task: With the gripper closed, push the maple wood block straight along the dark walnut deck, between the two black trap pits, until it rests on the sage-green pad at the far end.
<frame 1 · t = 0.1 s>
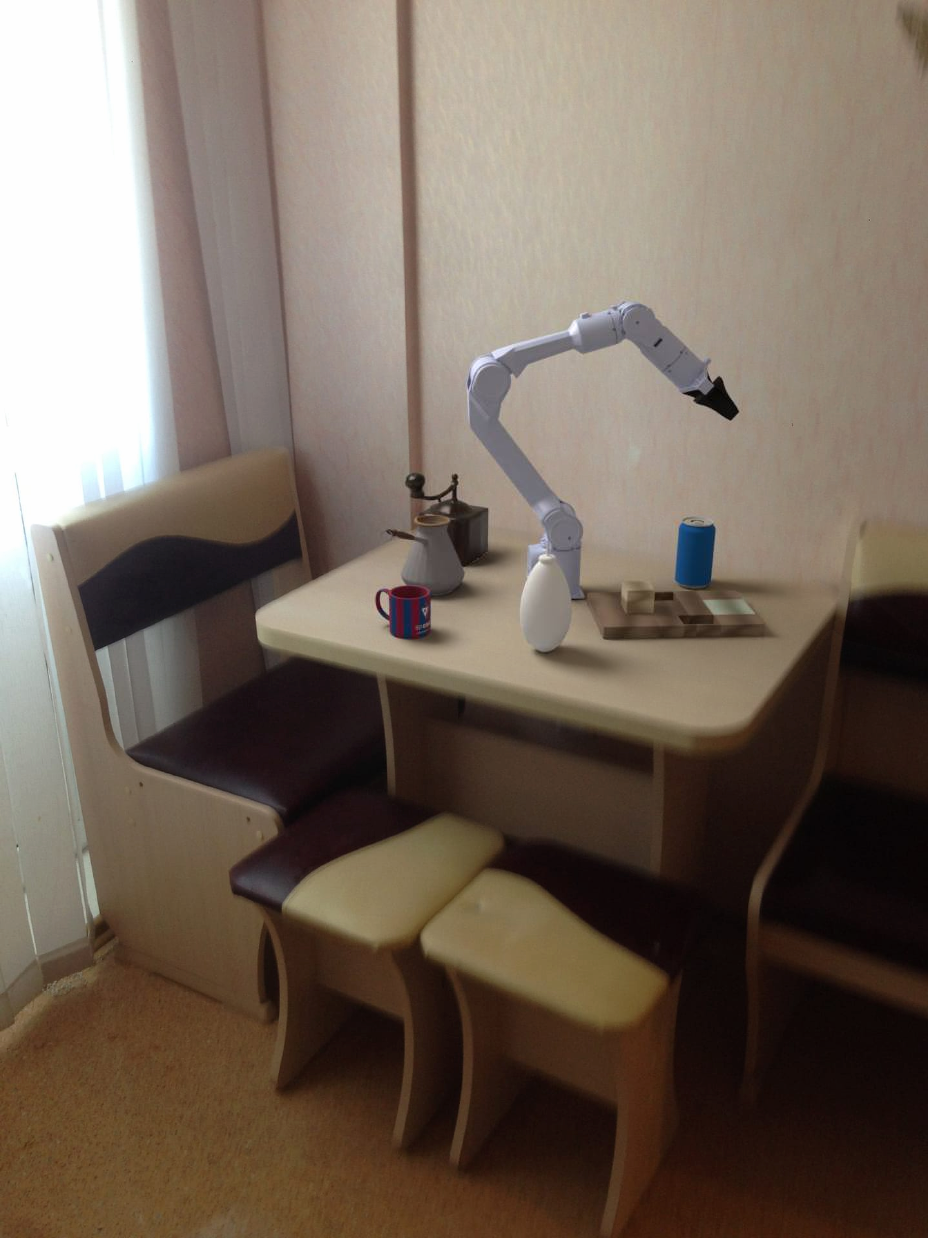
hand: (728, 411, 182), 32 cm above the table, tool tilted 50°, fingers open, 7 cm apart
block: (636, 608, 179), point 2 cm above the table, touching deck
beverage can: (692, 585, 197), on the table
mug: (402, 630, 176), on the table
coffee pot: (419, 597, 190), on the table
coffee grinder: (446, 560, 210), on the table
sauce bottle: (544, 651, 168), on the table
deck: (671, 619, 180), on the table
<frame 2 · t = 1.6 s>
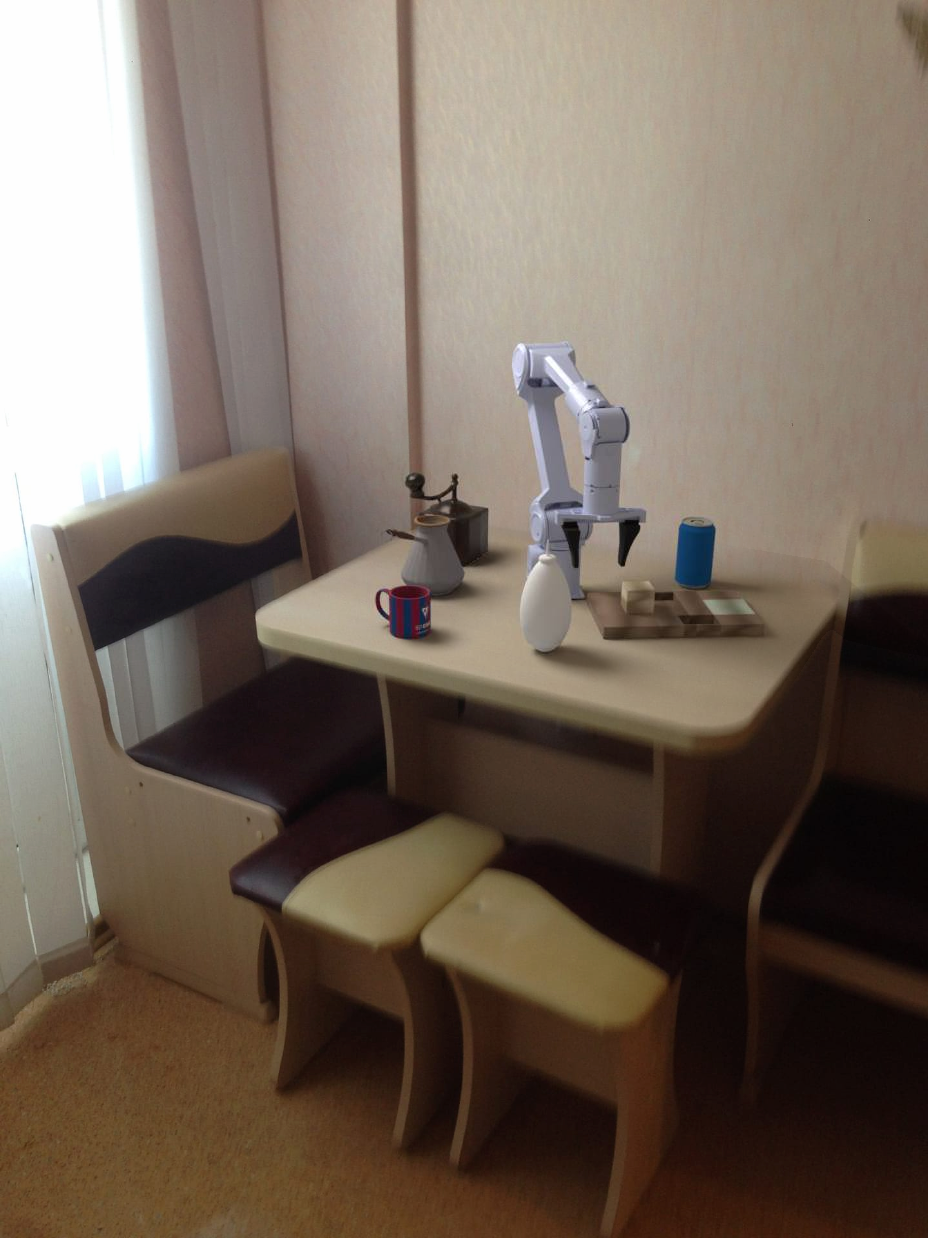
hand: (598, 565, 176), 10 cm above the table, tool pointing down, fingers open, 7 cm apart
nothing on the table moved.
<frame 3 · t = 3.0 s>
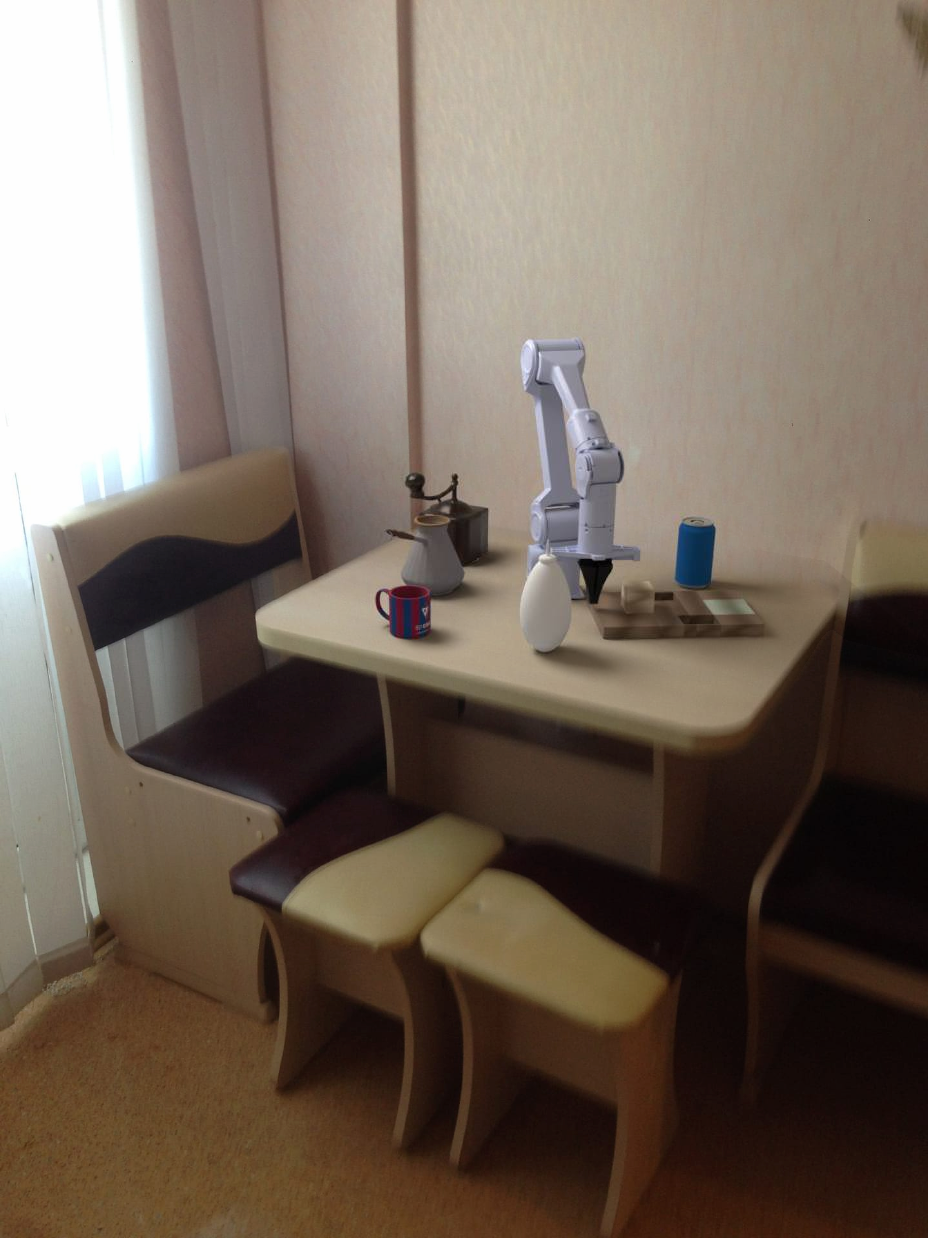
hand: (592, 602, 178), 3 cm above the table, tool pointing down, fingers closed
nothing on the table moved.
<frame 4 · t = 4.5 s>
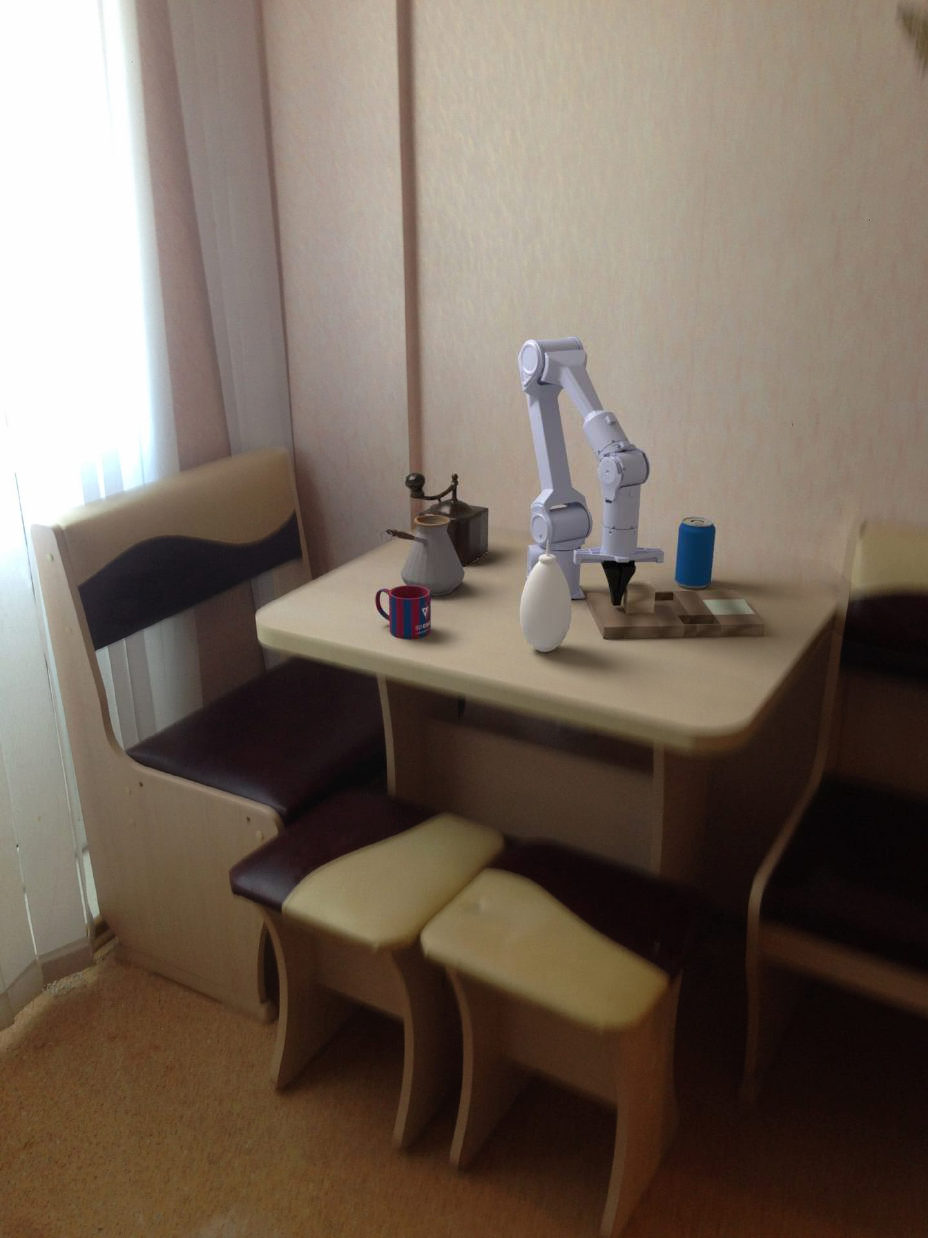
hand: (615, 603, 179), 3 cm above the table, tool pointing down, fingers closed
block: (637, 608, 179), point 2 cm above the table, touching deck, gripper
everything else where it was.
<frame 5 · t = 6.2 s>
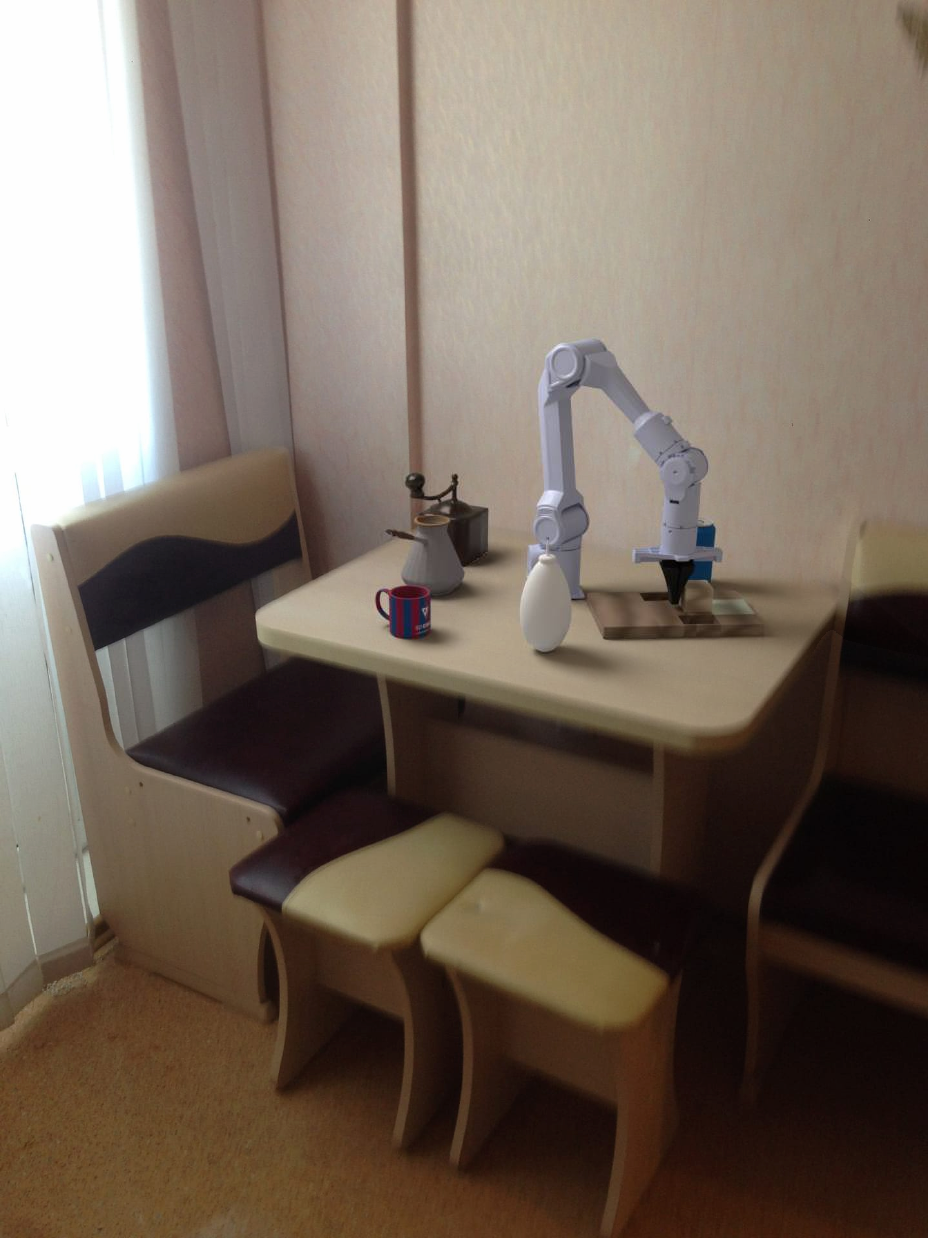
hand: (673, 602, 179), 3 cm above the table, tool pointing down, fingers closed
block: (694, 607, 180), point 2 cm above the table, touching gripper
everything else where it was.
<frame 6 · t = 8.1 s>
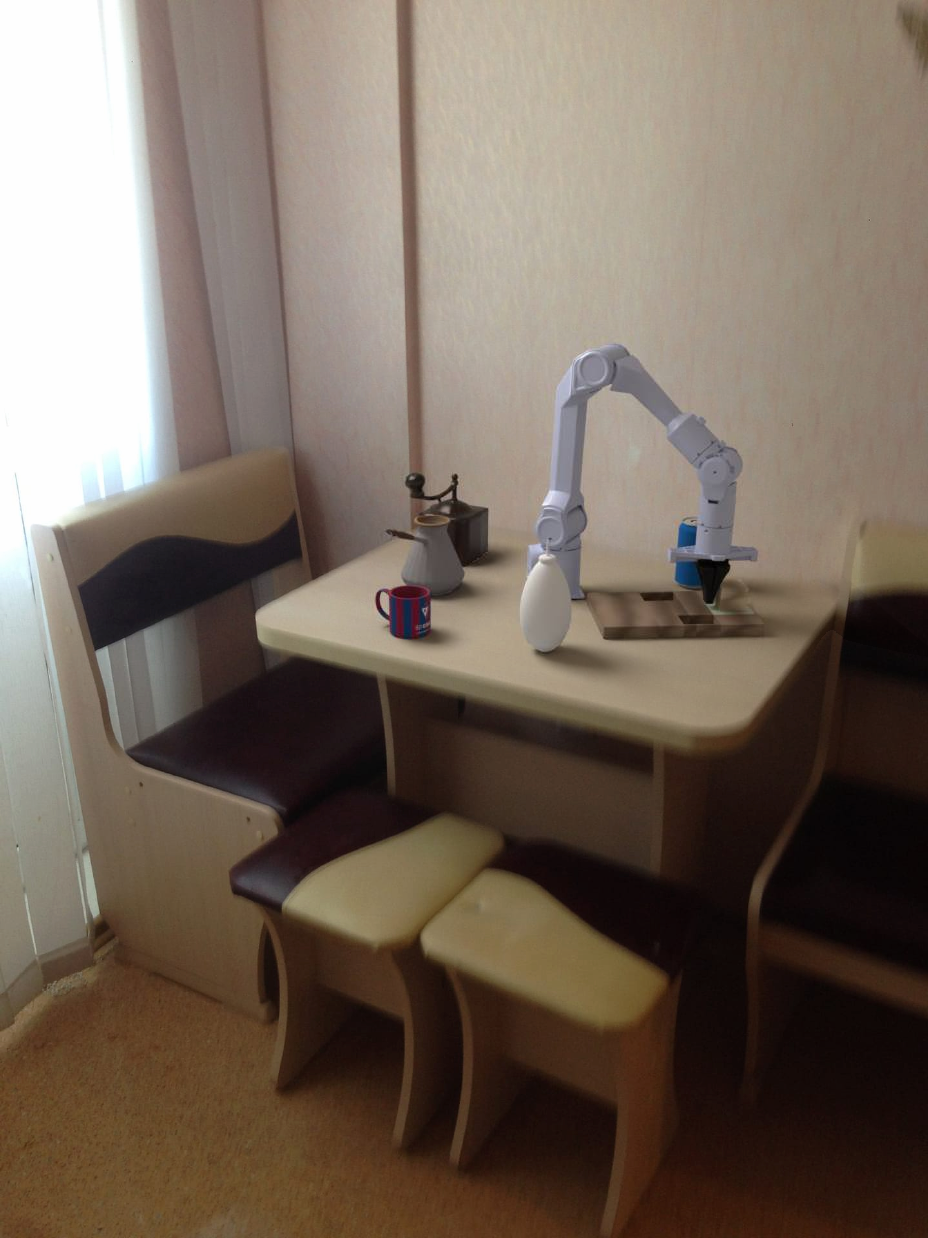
hand: (708, 602, 180), 3 cm above the table, tool pointing down, fingers closed
block: (729, 606, 180), point 2 cm above the table, touching deck, gripper
everything else where it was.
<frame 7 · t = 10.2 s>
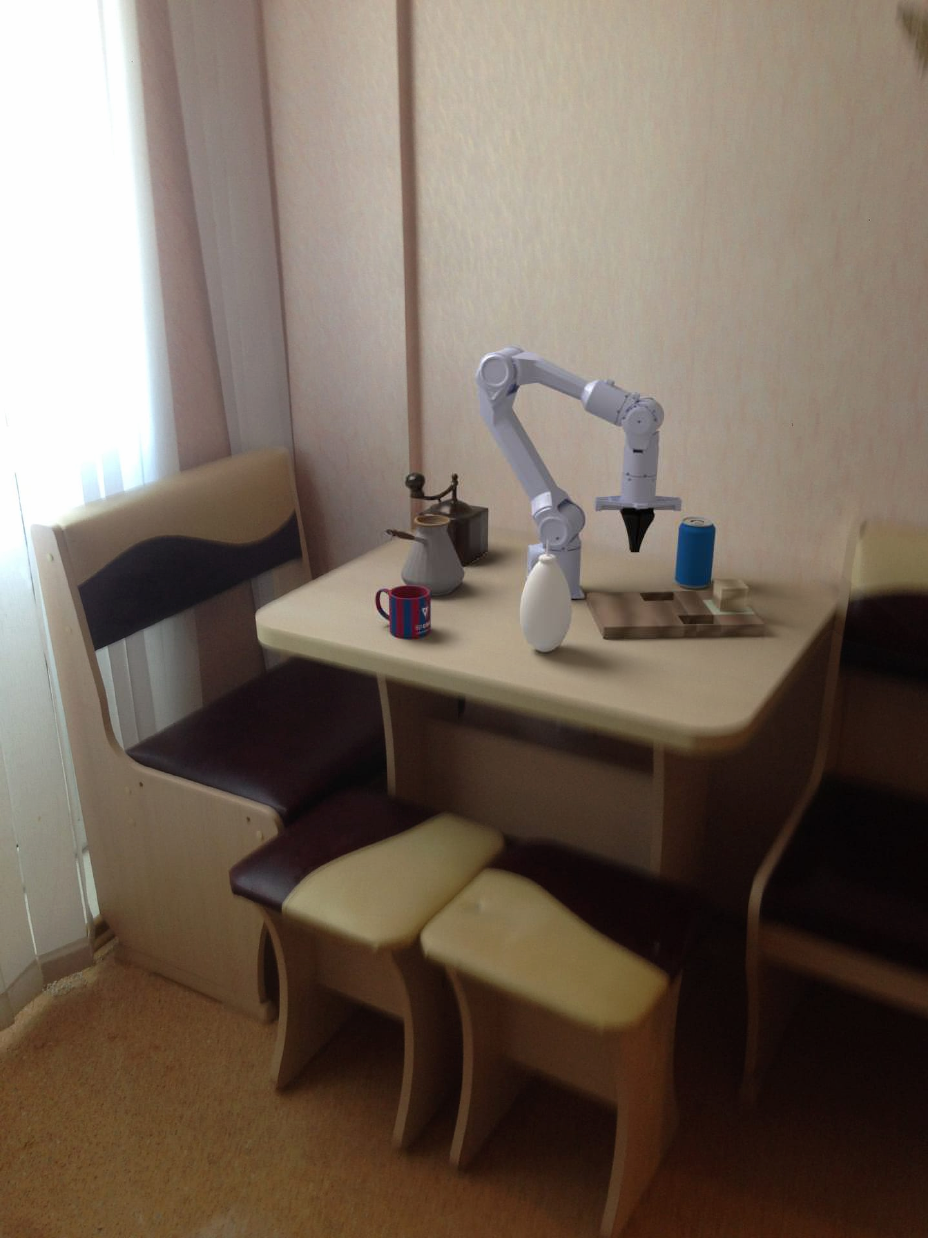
hand: (634, 550, 184), 9 cm above the table, tool pointing down, fingers closed
block: (729, 606, 180), point 2 cm above the table, touching deck
everything else where it was.
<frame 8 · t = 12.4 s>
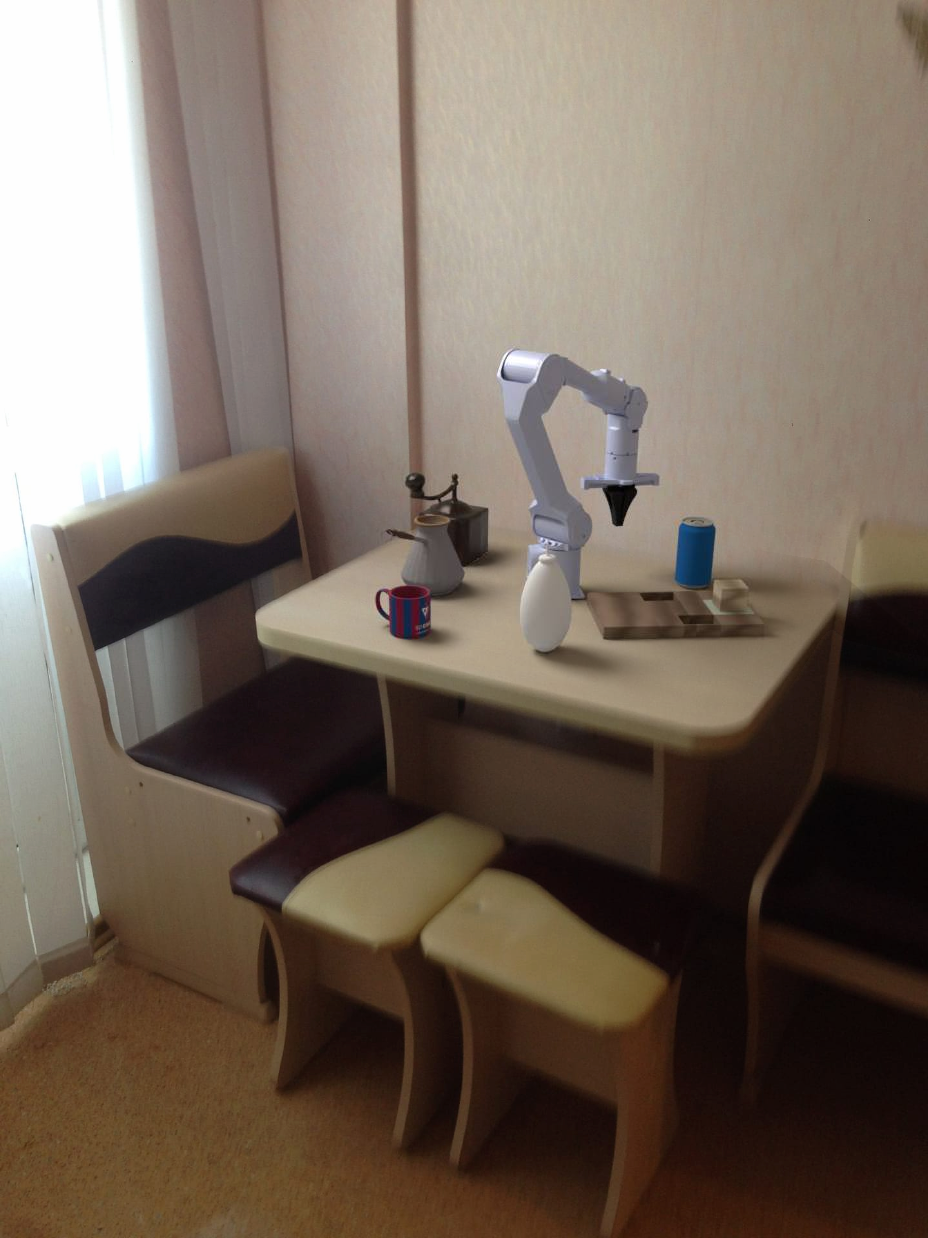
hand: (617, 524, 199), 9 cm above the table, tool pointing down, fingers closed
nothing on the table moved.
at the end: block 0.5 cm from the target spot on the deck, point 2.0 cm above the deck's base; block tilted 0° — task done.
